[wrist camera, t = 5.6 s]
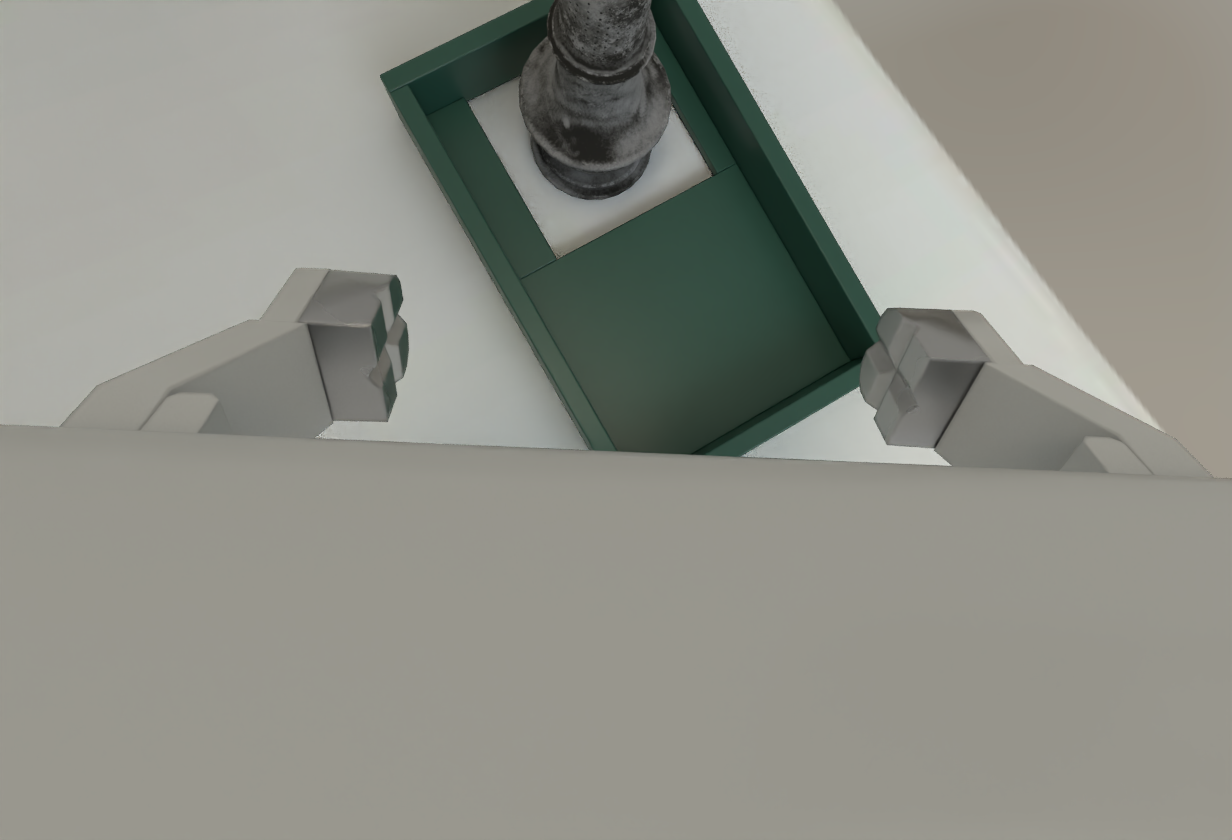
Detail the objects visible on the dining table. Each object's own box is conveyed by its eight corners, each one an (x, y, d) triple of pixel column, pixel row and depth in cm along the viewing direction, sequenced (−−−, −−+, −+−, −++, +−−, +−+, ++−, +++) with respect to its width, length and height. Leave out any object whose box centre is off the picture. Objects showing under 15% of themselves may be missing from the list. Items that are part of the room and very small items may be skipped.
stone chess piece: (624, 56, 29) (667, -229, 17) (680, 175, 29) (763, -27, 17) (501, 105, 28) (457, -154, 16) (558, 227, 28) (555, 56, 16)
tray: (870, 369, 29) (905, 359, 26) (625, 513, 28) (633, 520, 25) (651, -10, 29) (661, -64, 26) (398, 115, 28) (378, 74, 25)
